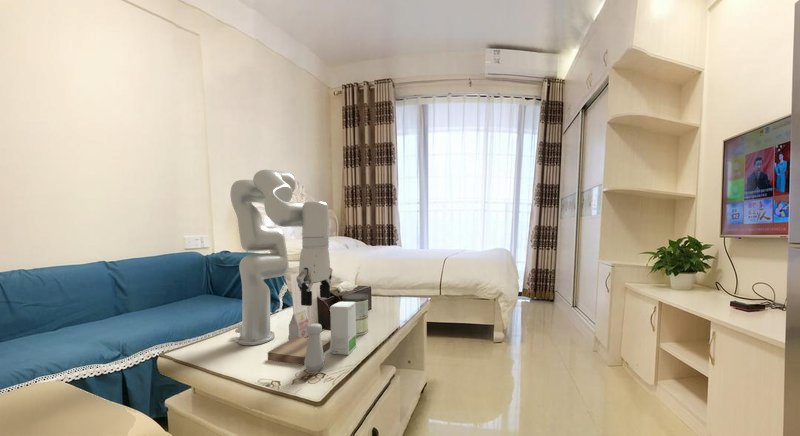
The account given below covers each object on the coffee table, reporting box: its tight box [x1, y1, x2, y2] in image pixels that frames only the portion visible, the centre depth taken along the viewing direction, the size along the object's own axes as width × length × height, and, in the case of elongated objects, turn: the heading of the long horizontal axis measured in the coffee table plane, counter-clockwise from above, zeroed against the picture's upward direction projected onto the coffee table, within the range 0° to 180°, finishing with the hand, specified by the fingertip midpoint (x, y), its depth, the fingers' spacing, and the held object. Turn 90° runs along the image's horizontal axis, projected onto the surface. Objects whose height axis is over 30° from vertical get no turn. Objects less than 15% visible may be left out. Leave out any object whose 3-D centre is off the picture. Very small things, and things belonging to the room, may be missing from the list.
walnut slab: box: [267, 337, 331, 367], centre depth 103 cm, size 14×14×2 cm
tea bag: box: [288, 309, 310, 341], centre depth 117 cm, size 4×7×10 cm, turn 160°
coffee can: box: [341, 292, 369, 337], centre depth 125 cm, size 10×10×14 cm
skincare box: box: [329, 301, 357, 356], centre depth 106 cm, size 8×7×16 cm
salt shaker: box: [303, 323, 325, 373], centre depth 92 cm, size 6×6×13 cm
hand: (316, 301), depth 92 cm, fingers open, 9 cm apart
